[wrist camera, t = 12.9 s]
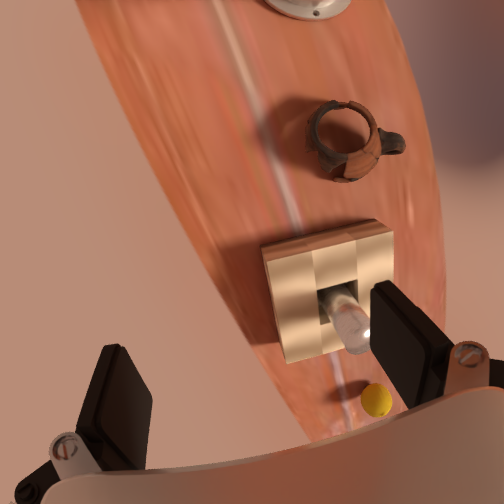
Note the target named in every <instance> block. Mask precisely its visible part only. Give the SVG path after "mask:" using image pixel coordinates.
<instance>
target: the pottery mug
mask: <svg viewBox="0 0 504 504" xmlns="http://www.w3.org/2000/svg"><path fill="white" fill-rule="evenodd" d="M344 108H349V109H352V110H354V111H356V112H358V113H360V114H361V115H362V116H363V117H364V118H365V119H366V121H367V122H368V125H369V127H370V137H369V140H368V142H367V143H366V145H365V146H364V147H362V148H361V149H359V150H358V151H355V152H352V153H346V154H344V153H339V152H335V151H333V150H331V149H329V148H328V147H327V146H325V145H324V144H323V143H322V142H321V140H320V138H319V135H318V130H317V129H318V123H319V121H320V119H321V118H322V116H323V115H324V114H325V113H327V112H328V111H330V110H332V109H334V110H338V109H344ZM405 147H406V145H405V140H404V138H403V137H402V136H401V135H400V134H397V133H393V132H386V131H384V130H382V129H381V128H377V124H376V122H375V119H374V118H373V116H372V114H371V113H370V112H369V111H368V109H366V108H365V107H364V106H362V105H361V104H359V103H357V102H354V101H349V103H345V102H337V101H335V100H332V101H329V102H327V103H325V104H324V105H322V106H320V107H319V108H318V109H317V110H316V111H315V112H314V113H313V114H312V115H311V117H310V119H309V120H308V125H307V126H306V152H309V151H318V160H319V162H320V164H321V168H322V169H323V170H324V171H326V172H328V173H330V172H331V171H332V169H334V168H336V167H338V166H339V165H341V164H343V163H345V171H344V173H343V176H344V177H345V178H339V177H334V179H333V181H334V182H339V183H348V182H353V181H356V180H358V179H360V178H362V177H363V176H365V175H366V174H368V173H369V172H370V171H371V170H372V169H373V168H374V167H375V165H376V164H377V162H378V159H379V157H380V156H381V155H396V154H401V153H403V152H404V150H405Z"/></svg>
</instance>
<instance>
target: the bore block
mask: <svg viewBox="0 0 504 504" xmlns="http://www.w3.org/2000/svg"><path fill="white" fill-rule="evenodd" d="M260 248H261V253H262V258H263V263H264V268H265V273H266V277H267V282H268V287H269V292H270V297H271V302H272V307H273V312H274V317H275V322H276V327H277V332H278V337H279V342H280V346H281V349H282V352H283V355H284V358H285V361H286V364H289V363H293V362H297V361H301V360H304V359H308V358H311V357H315V356H319V355H322V354H326V353H329V352H332V351H336V350H339V349H342V348H345V346H344V344H343V343H342V341H341V339H340V337H339V335H338V334H337V332H336V330H335V328H334V327H333V325H332V323H331V321H330V319H329V318H328V316H327V314H326V312H325V311H324V309H323V307H322V305H321V304H320V302H319V300H318V298H317V291H316V290H319V289H323V288H326V287H330V286H334V285H337V284H341V283H343V284H344V285H345V286H346V288H347V289H348V290H349V292H350V293H351V294H352V295H353V297H354V298H355V299H356V301H357V302H358V303H359V305H360V306H361V307H362V309H363V310H364V311H365V313H366V314H367V316H368V317H369V318H370V290H371V289H372V288H374V284H375V283H378V282H382V281H385V280H390V281H391V282H392V283H393V263H394V253H393V230H391V229H390V228H388V227H387V226H385V225H384V224H382V223H381V222H379V221H377V220H376V219H372V220H367V221H363V222H359V223H354V224H350V225H346V226H341V227H337V228H333V229H328V230H324V231H320V232H315V233H311V234H307V235H303V236H298V237H294V238H290V239H285V240H281V241H277V242H272V243H268V244H264V245H260Z"/></svg>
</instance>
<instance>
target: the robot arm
mask: <svg viewBox="0 0 504 504" xmlns="http://www.w3.org/2000/svg"><path fill="white" fill-rule="evenodd" d="M264 1H265V2H266V3H267V4H269V5H270V6H271V7H272V8H274V9H275V10H277V11H278V12H280V13H282V14H285V15H287V16H289V17H292V18H296V19H299V20H306V21H320V20H326V19H329V18H332V17H335V16H336V15H338V14H339V13H341V12H342V11H343V10H345V9H346V8H347V6H348V5H349V4H350V2H351V0H264ZM313 14H315V15H316V16H314V15H313ZM370 348H371V351H372V352H373V354H374V355H375V357H376V359H377V360H378V362H379V363H380V365H381V366H382V368H383V369H384V371H385V373H386V374H387V376H388V377H389V379H390V380H391V382H392V384H393V385H394V387H395V388H396V390H397V392H398V393H399V395H400V396H401V398H402V400H403V401H404V403H405V404H406V406H407V408H408V409H409V410H407V411H404V412H402V413H399V414H397V415H394V416H392V417H389V418H386V419H384V420H381V421H378V422H376V423H373V424H370V425H368V426H365V427H362V428H359V429H356V430H353V431H350V432H347V433H344V434H341V435H338V436H334V437H331V438H328V439H324V440H321V441H317V442H314V443H310V444H307V445H303V446H299V447H295V448H291V449H287V450H283V451H278V452H274V453H269V454H264V455H260V456H255V457H249V458H244V459H238V460H232V461H226V462H219V463H212V464H204V465H196V466H187V467H176V468H164V469H148V470H145V464H146V453H147V444H148V434H149V426H150V418H151V410H152V396H151V393H150V391H149V390H148V388H147V386H146V385H145V383H144V381H143V380H142V378H141V376H140V374H139V372H138V371H137V369H136V367H135V365H134V363H133V362H132V360H131V358H130V356H129V354H128V352H127V350H126V349H125V347H123V346H122V347H121V346H120V345H119V344H111V345H105V346H104V347H103V349H102V351H101V354H100V357H99V360H98V362H97V365H96V368H95V371H94V373H93V376H92V379H91V382H90V385H89V388H88V391H87V393H86V397H85V399H84V403H83V406H82V409H81V412H80V415H79V418H78V422H77V425H76V431H75V433H74V432H65V433H62V434H60V435H58V436H57V437H56V438H55V439H54V440H53V441H52V443H51V445H50V447H49V455H50V459H51V460H49V461H48V462H46V463H45V464H44V465H42V466H41V467H40V468H38V469H37V470H35V471H34V472H33V473H31V474H30V475H29V476H27V477H26V478H25V479H23V480H22V481H21V482H20V483H18V485H17V487H16V489H15V500H16V502H15V503H13V502H10V504H504V361H502V360H495V359H489V353H488V351H487V349H486V348H485V347H484V346H482V345H481V344H479V343H477V342H474V341H463V342H459V343H458V344H456V345H454V344H453V343H452V342H451V340H449V338H448V337H447V336H446V335H445V334H444V333H443V332H442V331H441V330H440V329H439V328H438V327H437V326H436V325H435V323H434V322H433V321H432V320H431V319H430V318H429V317H428V316H427V315H426V314H425V313H424V312H423V311H422V310H421V309H420V308H419V307H417V306H415V305H414V304H413V303H412V302H411V301H410V300H409V299H408V298H407V297H406V296H405V295H404V294H403V293H402V292H401V291H400V290H399V289H398V288H397V287H396V286H395V285H394V284H393V283H392V282H391V281H390V280H385V281H382V282H378V283H375V284H374V288H372V289H371V290H370Z"/></svg>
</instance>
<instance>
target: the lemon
mask: <svg viewBox="0 0 504 504" xmlns="http://www.w3.org/2000/svg"><path fill="white" fill-rule="evenodd" d="M361 404H362V406H363V408H364V410H365V411H366V412H367V413H368V414H369V415H370V416H372V417H382V416H385V415H386V414H387V413H388V412H389V410H390V409H391V406H392V398H391V395H390V393H389V391H388V390H387V388H386V387H384V386H383V385H381V384H377V383H374V384H370V385H367V387H366V388H365V389H364V390H363V391H362V394H361Z"/></svg>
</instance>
